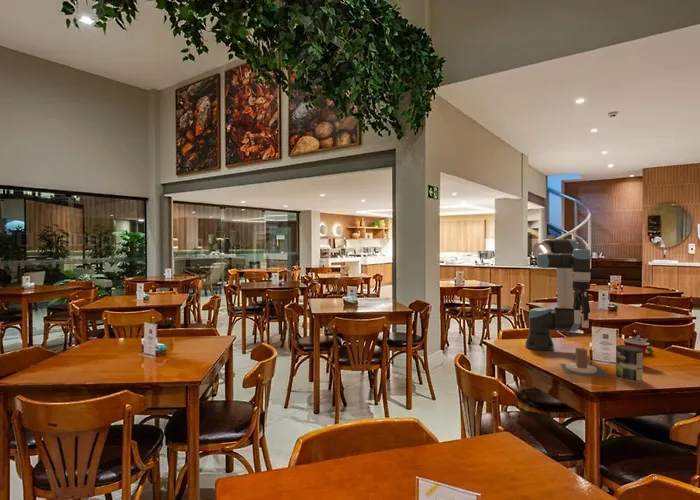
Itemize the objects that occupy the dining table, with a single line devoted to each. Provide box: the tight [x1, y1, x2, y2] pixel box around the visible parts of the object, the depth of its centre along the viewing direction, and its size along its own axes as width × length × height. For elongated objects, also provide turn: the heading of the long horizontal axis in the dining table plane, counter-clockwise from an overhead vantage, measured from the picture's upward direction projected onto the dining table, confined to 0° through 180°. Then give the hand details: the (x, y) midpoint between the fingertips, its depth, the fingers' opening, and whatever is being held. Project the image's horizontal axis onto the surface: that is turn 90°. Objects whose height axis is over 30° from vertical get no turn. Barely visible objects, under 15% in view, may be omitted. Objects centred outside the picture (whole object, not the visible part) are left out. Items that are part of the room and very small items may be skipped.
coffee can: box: [615, 344, 644, 382], centre depth 186 cm, size 10×10×14 cm
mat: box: [559, 363, 611, 379], centre depth 197 cm, size 18×18×1 cm
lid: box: [565, 347, 597, 374], centre depth 197 cm, size 13×13×10 cm
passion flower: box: [627, 334, 654, 355], centre depth 233 cm, size 11×11×12 cm
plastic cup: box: [622, 338, 650, 360], centre depth 209 cm, size 11×11×12 cm
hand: (581, 325), depth 198 cm, fingers open, 13 cm apart
